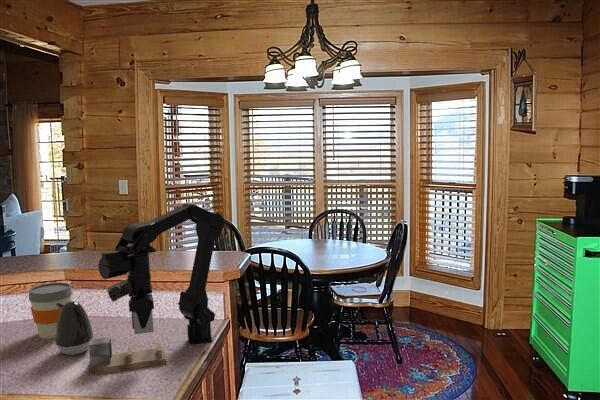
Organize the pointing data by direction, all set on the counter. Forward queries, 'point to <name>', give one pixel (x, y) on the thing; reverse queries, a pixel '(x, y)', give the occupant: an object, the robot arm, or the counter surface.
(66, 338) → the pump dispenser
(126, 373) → the counter surface
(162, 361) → the rail
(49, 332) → the reusable coffee cup
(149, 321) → the block
